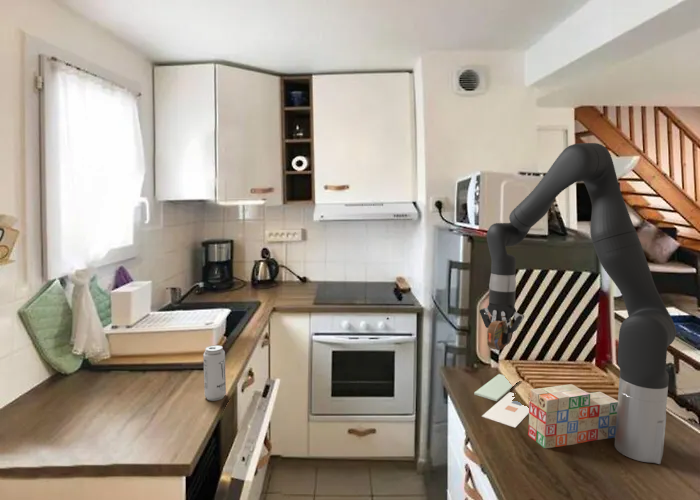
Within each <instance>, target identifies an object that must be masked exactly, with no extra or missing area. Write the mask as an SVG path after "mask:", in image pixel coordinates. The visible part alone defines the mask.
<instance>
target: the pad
mask: <svg viewBox="0 0 700 500" xmlns="http://www.w3.org/2000/svg"><path fill="white" fill-rule="evenodd" d="M504 375H505V374H502V373H501V374H500V373H498V374H497V375H496V376H494V377H493V378H492V379H490V380H489V381H488V382H486V383H485V384H483V385H482V386H481V387H480V388H478V389H476V391H474V396H479V397H480V398H484V399H488V400H491V401H494V402H499V401H500V400H501V399H502V398H503V397H504V396H505V395H507V394H508V393H509V392H510V391H511V390H512V389H513V388H512V385H511V384H510V383H509V381H508V380H507V379H506V378H505V376H506V375H505V376H504ZM511 388H512V389H511ZM510 389H511V390H510Z"/></svg>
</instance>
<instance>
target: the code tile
mask: <svg viewBox="0 0 700 500" xmlns="http://www.w3.org/2000/svg"><path fill="white" fill-rule="evenodd" d="M512 396H514V393H513V392H510V391H508V392H507V393H506V394H505V395H504V396H502V397H501V398H500V399H499V400H498V401H496V403H495V404H494V405H493V406H492V407H490V408H489V409H488V410H486V412H484V413H483V414H482V415H481V417H482V418H485V419H487V420H490V421H494V422H497V423H499V424H503V425H505V426H509V427H512V428H517V427H518V426H519V425H520V424H521V422H523V420H524V419H526V417H527V416H529V408H528V407H527V406H524V405H522V404H521V403H520V402H518V401H512V400H513V399H514V398H515V397H512Z"/></svg>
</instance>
